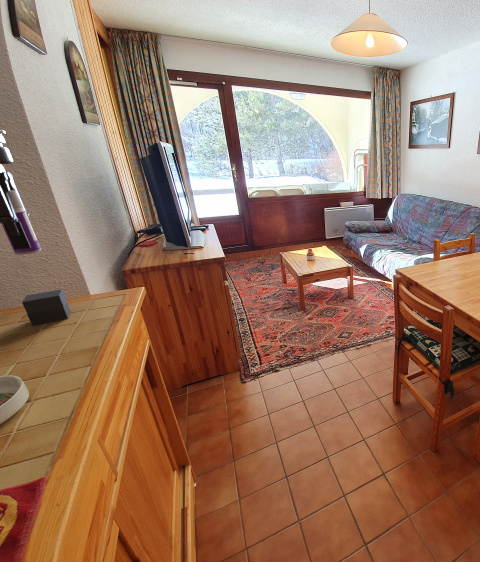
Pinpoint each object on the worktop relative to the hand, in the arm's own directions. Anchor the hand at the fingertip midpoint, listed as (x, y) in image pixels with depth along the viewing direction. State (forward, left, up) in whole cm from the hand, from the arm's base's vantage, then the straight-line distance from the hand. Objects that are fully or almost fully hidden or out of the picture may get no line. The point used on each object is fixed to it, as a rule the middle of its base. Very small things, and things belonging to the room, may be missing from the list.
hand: (25, 245), depth 78 cm
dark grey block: (0, -1, -17) cm, 17 cm away
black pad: (0, -1, -21) cm, 21 cm away
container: (0, 0, -2) cm, 2 cm away
